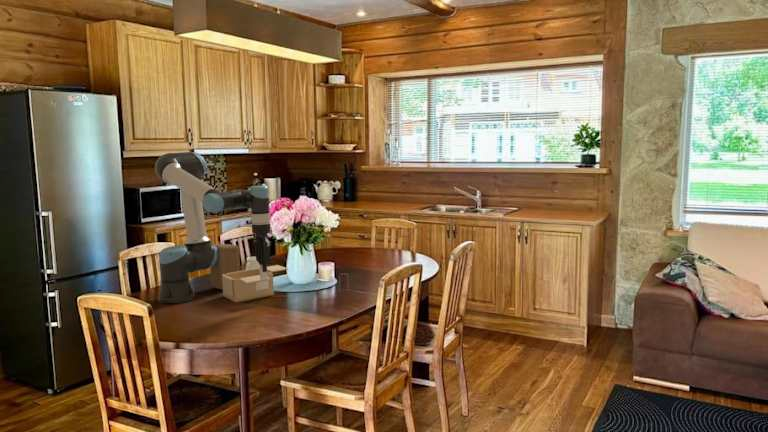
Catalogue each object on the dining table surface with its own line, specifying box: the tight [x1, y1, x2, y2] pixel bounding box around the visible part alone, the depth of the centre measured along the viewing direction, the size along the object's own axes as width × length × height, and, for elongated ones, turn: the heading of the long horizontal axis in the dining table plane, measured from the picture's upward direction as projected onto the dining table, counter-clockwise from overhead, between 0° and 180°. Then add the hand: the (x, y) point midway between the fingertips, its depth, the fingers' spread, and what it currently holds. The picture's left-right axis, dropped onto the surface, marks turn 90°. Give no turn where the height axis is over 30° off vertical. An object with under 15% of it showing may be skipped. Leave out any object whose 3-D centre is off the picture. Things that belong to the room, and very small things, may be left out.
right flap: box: [267, 264, 289, 273], centre depth 268 cm, size 8×10×1 cm
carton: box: [222, 268, 275, 303], centre depth 261 cm, size 19×15×10 cm
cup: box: [244, 255, 259, 270], centre depth 293 cm, size 8×12×10 cm
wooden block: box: [210, 243, 241, 291], centre depth 275 cm, size 10×10×20 cm
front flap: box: [240, 275, 270, 284], centre depth 251 cm, size 11×7×1 cm, turn 127°
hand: (263, 278), depth 243 cm, fingers closed
